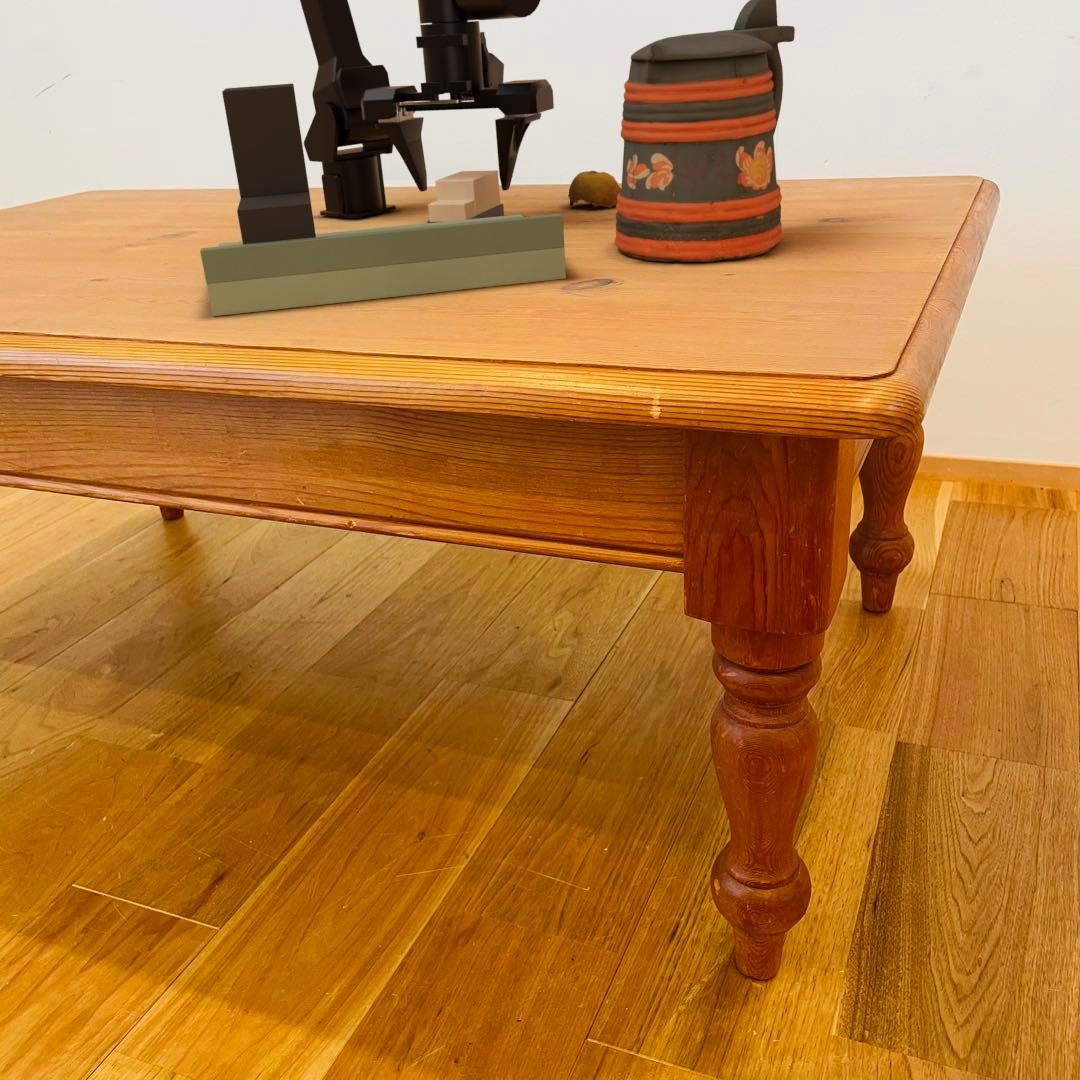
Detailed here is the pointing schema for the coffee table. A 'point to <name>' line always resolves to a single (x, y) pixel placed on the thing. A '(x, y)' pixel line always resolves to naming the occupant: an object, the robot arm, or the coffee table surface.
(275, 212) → the dark notched upright block
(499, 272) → the olive green plank
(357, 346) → the coffee table surface
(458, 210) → the stepped wooden block stack
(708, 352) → the coffee table surface
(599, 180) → the fruit
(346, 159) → the robot arm
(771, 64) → the beer stein
